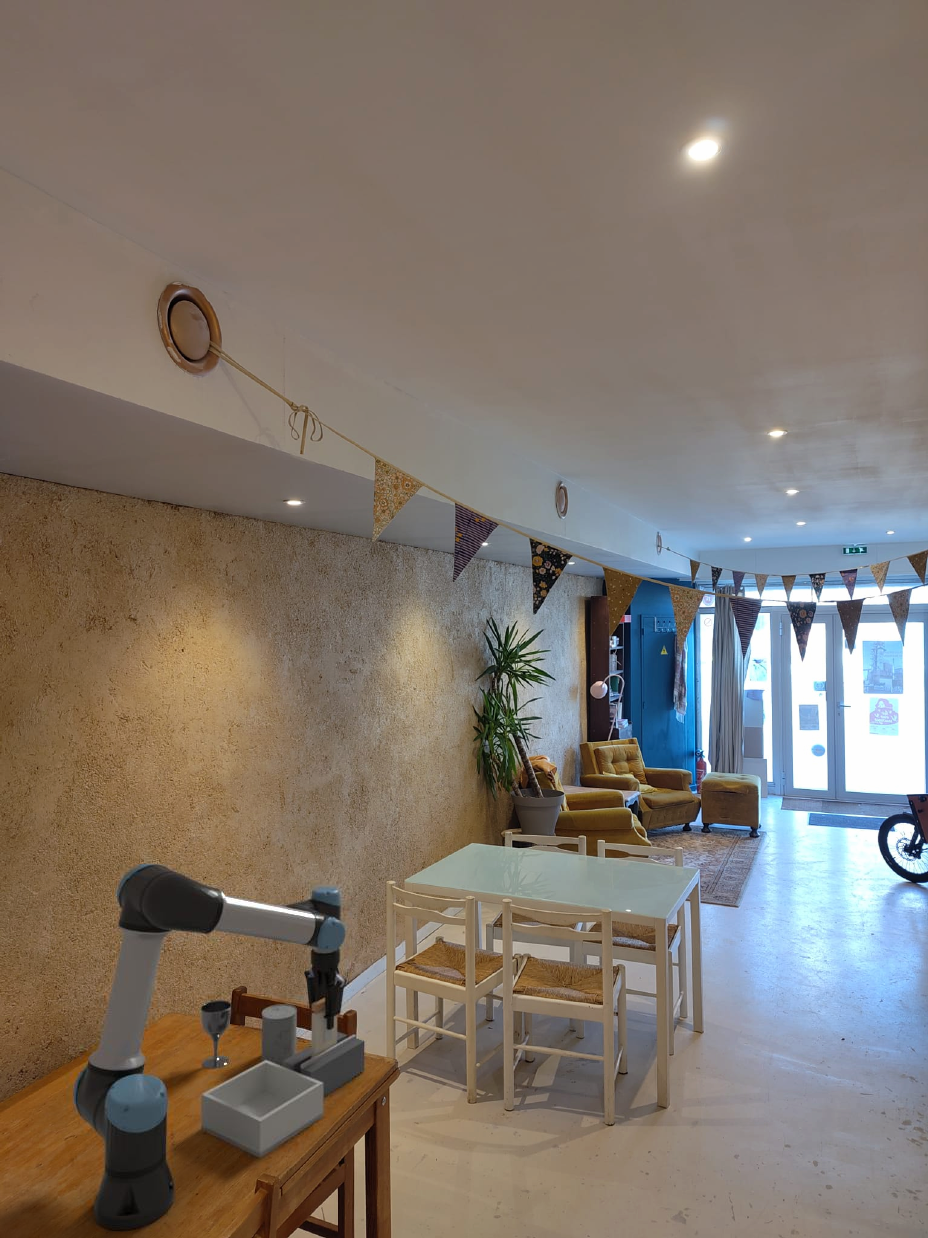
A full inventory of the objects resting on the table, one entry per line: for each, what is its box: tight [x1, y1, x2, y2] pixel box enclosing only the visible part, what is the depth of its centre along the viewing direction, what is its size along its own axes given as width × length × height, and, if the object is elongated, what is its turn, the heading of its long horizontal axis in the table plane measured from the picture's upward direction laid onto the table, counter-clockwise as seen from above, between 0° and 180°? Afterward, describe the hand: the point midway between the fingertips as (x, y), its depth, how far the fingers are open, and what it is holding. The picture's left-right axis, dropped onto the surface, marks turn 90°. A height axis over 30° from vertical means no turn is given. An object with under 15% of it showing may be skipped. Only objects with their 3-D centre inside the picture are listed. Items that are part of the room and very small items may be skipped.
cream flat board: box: [310, 998, 338, 1058], centre depth 217 cm, size 8×2×16 cm, turn 146°
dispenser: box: [282, 1031, 365, 1098], centre depth 217 cm, size 20×10×9 cm, turn 146°
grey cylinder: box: [260, 1003, 298, 1066], centre depth 230 cm, size 10×10×12 cm
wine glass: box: [200, 999, 232, 1070], centre depth 227 cm, size 8×8×15 cm
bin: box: [200, 1060, 324, 1159], centre depth 198 cm, size 20×20×8 cm
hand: (324, 1040), depth 217 cm, fingers closed on cream flat board, 1 cm apart
